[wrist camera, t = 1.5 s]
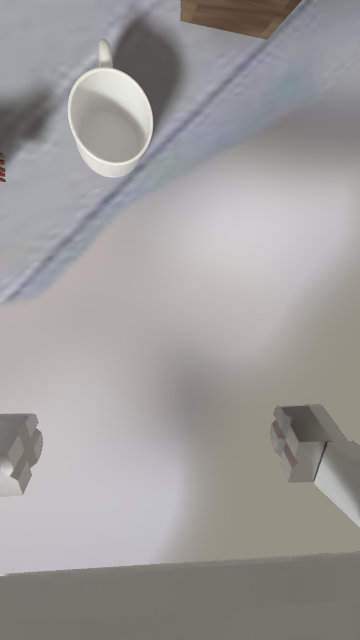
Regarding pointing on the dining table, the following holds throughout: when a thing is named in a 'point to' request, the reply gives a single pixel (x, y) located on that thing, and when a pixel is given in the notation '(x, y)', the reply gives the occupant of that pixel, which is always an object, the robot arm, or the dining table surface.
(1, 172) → the decorative bird
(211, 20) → the wooden peg block
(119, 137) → the cup
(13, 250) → the dining table surface
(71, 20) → the dining table surface
